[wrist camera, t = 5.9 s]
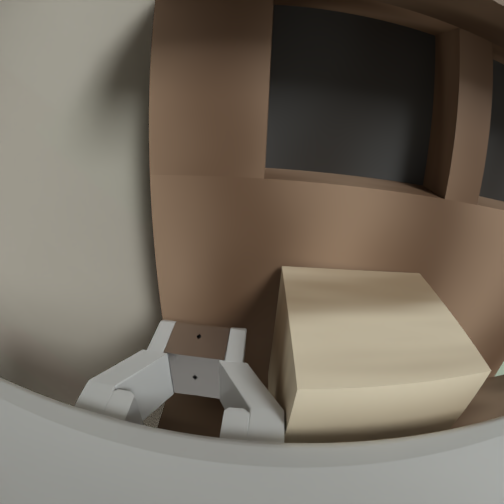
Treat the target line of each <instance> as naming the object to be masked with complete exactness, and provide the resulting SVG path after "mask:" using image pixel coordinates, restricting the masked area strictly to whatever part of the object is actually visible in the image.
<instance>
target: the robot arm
mask: <svg viewBox="0 0 504 504" xmlns="http://www.w3.org/2000/svg"><path fill="white" fill-rule="evenodd" d="M246 333H247V330H246V328H234V327H231V328H228V327H218V326H207V325H200V324H193V323H186V322H179V321H177V322H176V321H171V320H164V319H163V320H162V321H160V323H159V325H158V327H157V329H156V331H155V333H154V335H153V338H152V340H151V342H150V344H149V346H148V348H147V350H141V351H139V352H137V353H136V354H134V355H132V356H130V357H129V358H127V359H125V360H123V361H122V362H120V363H118V364H116V365H115V366H113V367H111V368H109V369H107V370H106V371H104V372H102V373H100V374H99V375H97V376H95V377H93V378H91V379H90V380H88V382H87V384H86V386H85V387H84V389H83V391H82V393H81V394H80V396H79V398H78V400H77V402H76V404H75V405H74V406H72V405H69V404H66V403H63V402H60V401H58V400H55V399H52V398H49V397H47V396H44V395H41V394H39V393H36V392H34V391H31V390H29V389H26V388H24V387H22V386H19V385H17V384H15V383H12V382H10V381H8V380H6V379H3V378H1V377H0V504H504V416H501V417H498V418H495V419H491V420H487V421H484V422H480V423H476V424H472V425H467V426H463V427H459V428H454V429H449V430H444V431H439V432H433V433H427V434H421V435H415V436H407V437H400V438H391V439H382V440H371V441H357V442H338V443H284V410H283V408H282V407H281V406H280V405H279V403H278V402H277V401H276V400H275V398H274V397H273V396H272V395H271V393H270V392H269V391H268V389H267V388H266V387H265V386H264V384H263V383H262V382H261V380H260V379H259V378H258V376H257V375H256V374H255V373H254V371H253V370H252V369H251V367H250V366H249V365H248V363H244V362H245V347H246ZM174 393H181V394H189V395H198V396H204V397H211V398H218V399H220V401H221V403H222V405H223V407H224V409H225V410H224V415H223V420H222V426H221V432H220V437H219V438H217V437H209V436H201V435H195V434H188V433H182V432H176V431H171V430H165V429H160V428H155V427H150V426H146V425H144V423H143V420H144V419H145V418H147V417H148V416H149V415H150V414H151V413H152V412H154V411H155V410H156V409H157V408H158V407H159V406H161V405H162V404H163V403H164V402H165V401H166V400H167V399H169V398H170V397H171V396H172V395H173V394H174Z"/></svg>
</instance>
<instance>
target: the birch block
mask: <svg viewBox="0 0 504 504" xmlns="http://www.w3.org/2000/svg"><path fill="white" fill-rule="evenodd" d="M490 372H491V369H490V368H489V366H488V365H487V363H486V362H485V360H484V359H483V357H482V356H481V354H480V353H479V351H478V350H477V348H476V347H475V345H474V344H473V343H472V341H471V340H470V338H469V337H468V335H467V334H466V333H465V331H464V330H463V329H462V327H461V326H460V324H459V323H458V322H457V320H456V319H455V318H454V316H453V315H452V314H451V312H450V311H449V310H448V308H447V307H446V306H445V304H444V303H443V302H442V301H441V299H440V298H439V297H438V295H437V294H436V293H435V292H434V290H433V289H432V288H431V287H430V285H429V284H428V283H427V282H426V280H425V279H424V278H423V277H422V276H421V274H420V273H404V272H383V271H363V270H344V269H325V268H307V267H290V266H282V269H281V278H280V286H279V294H278V302H277V310H276V318H275V326H274V334H273V341H272V349H271V356H270V363H269V370H268V391H269V392H270V393H271V395H272V396H273V397H274V398H275V400H276V401H277V402H278V403H279V405H280V406H281V407H282V408H283V410H284V443H338V442H357V441H371V440H382V439H391V438H400V437H407V436H415V435H421V434H427V433H433V432H439V431H444V430H449V429H450V428H451V427H452V426H453V424H454V423H455V422H456V421H457V419H458V418H459V417H460V415H461V414H462V413H463V411H464V410H465V409H466V407H467V406H468V405H469V403H470V402H471V400H472V399H473V398H474V396H475V395H476V393H477V392H478V390H479V389H480V387H481V386H482V384H483V383H484V381H485V380H486V378H487V377H488V375H489V374H490Z"/></svg>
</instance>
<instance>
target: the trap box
mask: <svg viewBox="0 0 504 504" xmlns="http://www.w3.org/2000/svg"><path fill="white" fill-rule="evenodd" d="M149 164H150V190H151V208H152V223H153V236H154V248H155V259H156V269H157V278H158V287H159V295H160V303H161V311H162V318H163V319H164V320H171V321H176V322H177V321H179V322H186V323H193V324H200V325H207V326H218V327H228V328H231V327H234V328H246V330H247V333H246V347H245V362H244V363H248V365H249V366H250V367H251V369H252V370H253V371H254V373H255V374H256V375H257V376H258V378H259V379H260V380H261V382H262V383H263V384H264V386H265V387H266V388H267V389H268V370H269V363H270V356H271V349H272V341H273V334H274V326H275V318H276V310H277V302H278V294H279V286H280V278H281V269H282V266H290V267H307V268H325V269H344V270H363V271H383V272H404V273H420V274H421V276H422V277H423V278H424V279H425V280H426V282H427V283H428V284H429V285H430V287H431V288H432V289H433V290H434V292H435V293H436V294H437V295H438V297H439V298H440V299H441V301H442V302H443V303H444V304H445V306H446V307H447V308H448V310H449V311H450V312H451V314H452V315H453V316H454V318H455V319H456V320H457V322H458V323H459V324H460V326H461V327H462V329H463V330H464V331H465V333H466V334H467V335H468V337H469V338H470V340H471V341H472V343H473V344H474V345H475V347H476V348H477V350H478V351H479V353H480V354H481V356H482V357H483V359H484V360H485V362H486V363H487V365H488V366H489V368H490V369H491V372H490V374H489V375H488V377H487V378H486V380H485V381H484V383H483V384H482V386H481V387H480V389H479V390H478V392H477V393H476V395H475V396H474V398H473V399H472V400H471V402H470V403H469V405H468V406H467V407H466V409H465V410H464V411H463V413H462V414H461V415H460V417H459V418H458V419H457V421H456V422H455V423H454V424H453V426H452V427H451V428H450V429H454V428H459V427H463V426H467V425H472V424H476V423H480V422H484V421H487V420H491V419H495V418H498V417H501V416H504V0H155V8H154V19H153V31H152V44H151V61H150V86H149ZM224 410H225V409H224V407H223V405H222V403H221V401H220V399H218V398H211V397H204V396H198V395H189V394H181V393H174V394H173V395H172V396H171V397H170V398H169V399H167V400H166V402H165V406H164V409H163V412H162V415H161V418H160V421H159V424H158V428H160V429H165V430H171V431H176V432H182V433H188V434H195V435H201V436H209V437H217V438H219V437H220V432H221V426H222V420H223V415H224Z"/></svg>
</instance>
